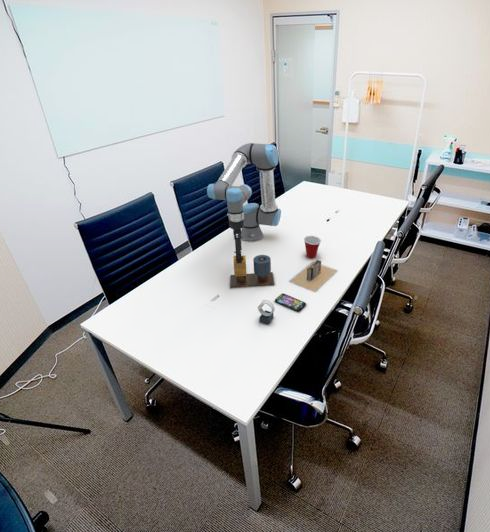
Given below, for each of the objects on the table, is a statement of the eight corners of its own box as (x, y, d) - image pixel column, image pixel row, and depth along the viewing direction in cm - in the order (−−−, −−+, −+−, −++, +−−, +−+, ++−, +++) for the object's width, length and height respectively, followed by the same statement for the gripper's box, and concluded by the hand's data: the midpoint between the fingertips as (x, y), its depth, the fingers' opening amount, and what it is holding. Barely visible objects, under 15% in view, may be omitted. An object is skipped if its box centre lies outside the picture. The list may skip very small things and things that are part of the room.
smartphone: (298, 311, 163) (273, 300, 171) (298, 312, 164) (273, 301, 171) (306, 302, 169) (282, 292, 176) (306, 304, 169) (282, 294, 177)
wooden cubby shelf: (234, 269, 186) (233, 256, 181) (246, 269, 186) (245, 255, 181) (234, 276, 180) (233, 262, 175) (246, 275, 181) (245, 261, 176)
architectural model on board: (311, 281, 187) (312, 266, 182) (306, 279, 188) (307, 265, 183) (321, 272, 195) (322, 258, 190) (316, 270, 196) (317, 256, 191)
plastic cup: (319, 261, 206) (320, 244, 199) (301, 259, 207) (302, 242, 201) (321, 252, 215) (322, 236, 208) (304, 251, 216) (305, 234, 210)
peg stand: (230, 288, 181) (228, 266, 174) (230, 276, 190) (228, 255, 183) (274, 285, 184) (273, 263, 176) (272, 274, 193) (272, 253, 186)
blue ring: (250, 270, 185) (250, 258, 181) (263, 265, 190) (263, 253, 186) (260, 277, 179) (260, 265, 175) (274, 271, 184) (273, 259, 180)
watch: (261, 313, 163) (261, 296, 157) (276, 318, 160) (276, 300, 154) (256, 320, 159) (255, 302, 153) (271, 325, 156) (270, 307, 150)
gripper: (229, 210, 176) (232, 245, 187) (228, 230, 155) (231, 269, 166) (243, 209, 177) (245, 245, 188) (244, 230, 156) (246, 268, 167)
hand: (239, 256), depth 177 cm, fingers open, 13 cm apart
